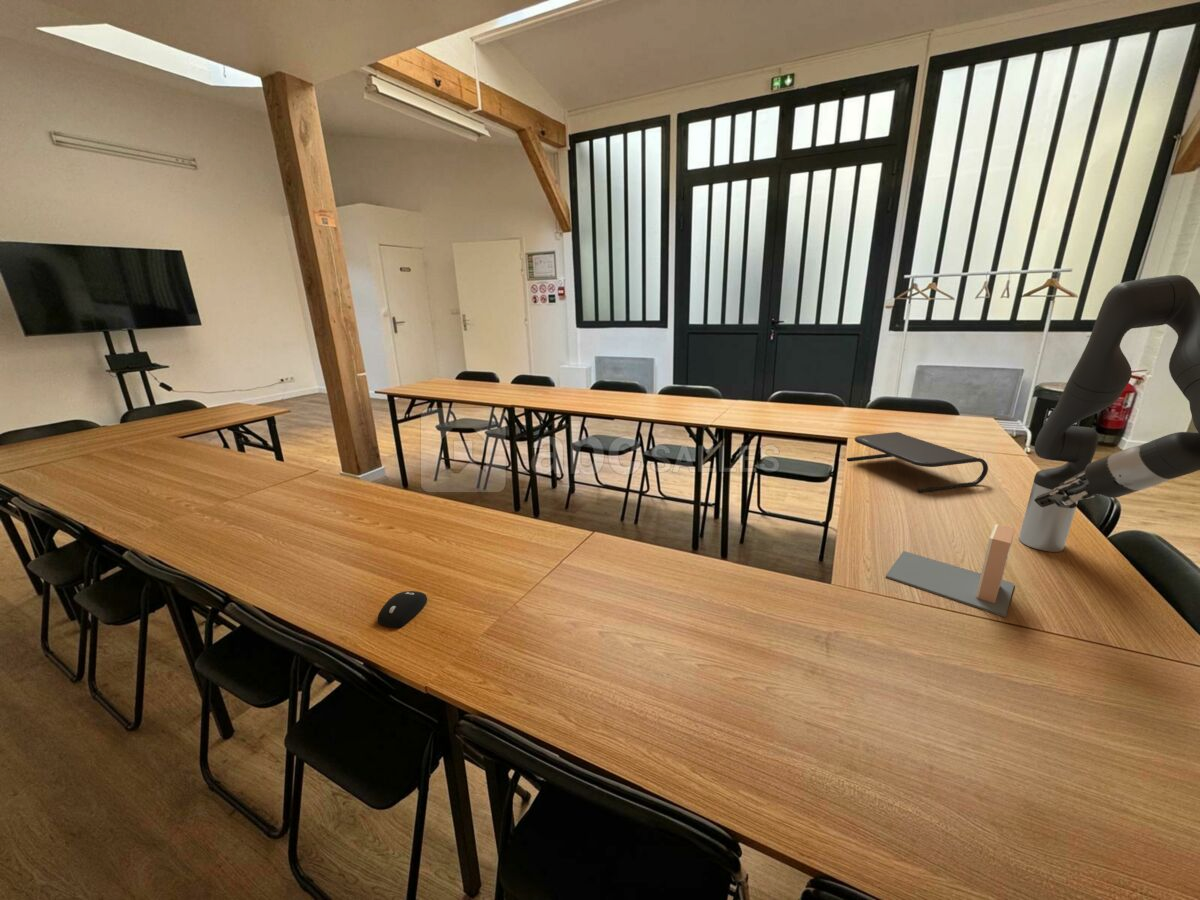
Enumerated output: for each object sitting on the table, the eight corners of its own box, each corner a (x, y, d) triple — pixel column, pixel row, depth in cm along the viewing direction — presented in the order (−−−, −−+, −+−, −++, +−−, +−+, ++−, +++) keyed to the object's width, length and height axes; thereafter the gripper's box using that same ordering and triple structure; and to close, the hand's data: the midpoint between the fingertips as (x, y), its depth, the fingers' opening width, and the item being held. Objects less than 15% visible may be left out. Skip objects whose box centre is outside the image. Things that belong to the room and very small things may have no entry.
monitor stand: (845, 460, 199) (848, 436, 196) (902, 454, 205) (906, 430, 201) (919, 494, 165) (924, 464, 161) (985, 485, 170) (992, 456, 167)
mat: (903, 552, 128) (903, 550, 128) (1014, 585, 112) (1014, 583, 112) (885, 577, 117) (885, 575, 117) (1005, 617, 102) (1006, 615, 101)
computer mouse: (435, 599, 115) (433, 585, 114) (401, 631, 104) (398, 616, 103) (410, 594, 117) (407, 580, 116) (373, 625, 106) (370, 610, 105)
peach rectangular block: (981, 580, 114) (995, 523, 109) (1000, 586, 111) (1015, 528, 107) (975, 597, 108) (989, 538, 103) (994, 603, 105) (1010, 543, 101)
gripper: (1125, 439, 92) (1038, 473, 107) (1096, 472, 87) (1010, 504, 103) (1160, 469, 90) (1066, 500, 105) (1132, 505, 85) (1039, 532, 100)
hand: (1038, 502), depth 104 cm, fingers closed
